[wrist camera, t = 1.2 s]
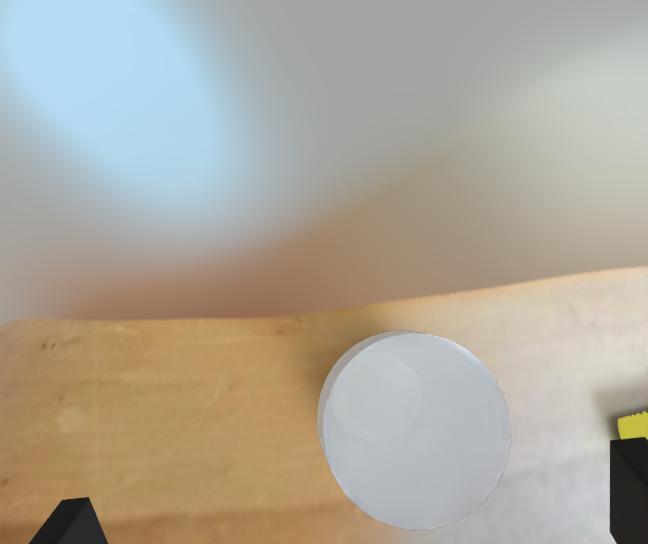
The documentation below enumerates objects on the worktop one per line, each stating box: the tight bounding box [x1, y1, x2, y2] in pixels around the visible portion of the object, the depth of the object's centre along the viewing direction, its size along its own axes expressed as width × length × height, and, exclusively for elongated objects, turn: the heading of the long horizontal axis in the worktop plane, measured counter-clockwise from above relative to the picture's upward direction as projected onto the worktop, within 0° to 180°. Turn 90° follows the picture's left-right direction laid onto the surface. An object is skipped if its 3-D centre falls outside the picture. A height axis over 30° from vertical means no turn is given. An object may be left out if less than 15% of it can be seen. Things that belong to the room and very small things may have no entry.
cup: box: [317, 330, 511, 530], centre depth 27 cm, size 9×9×12 cm
